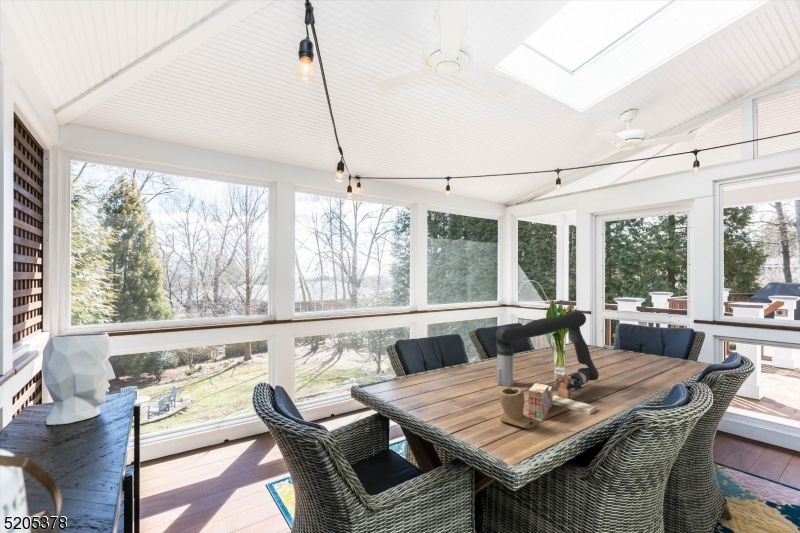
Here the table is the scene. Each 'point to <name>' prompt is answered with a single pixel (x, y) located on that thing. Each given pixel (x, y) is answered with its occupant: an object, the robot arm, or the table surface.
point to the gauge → (564, 386)
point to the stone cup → (515, 408)
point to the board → (573, 405)
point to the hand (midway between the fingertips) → (562, 386)
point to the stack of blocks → (540, 400)
